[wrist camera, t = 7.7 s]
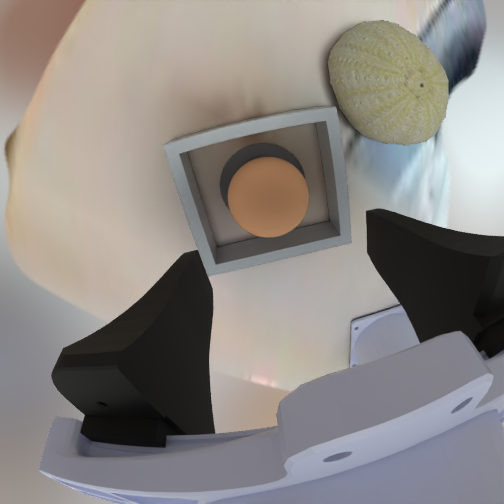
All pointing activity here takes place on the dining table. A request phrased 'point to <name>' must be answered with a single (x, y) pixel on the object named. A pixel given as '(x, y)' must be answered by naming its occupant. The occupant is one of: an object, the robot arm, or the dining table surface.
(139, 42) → the dining table surface
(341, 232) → the corral
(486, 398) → the robot arm
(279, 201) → the ball
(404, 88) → the sea urchin shell
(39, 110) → the dining table surface
